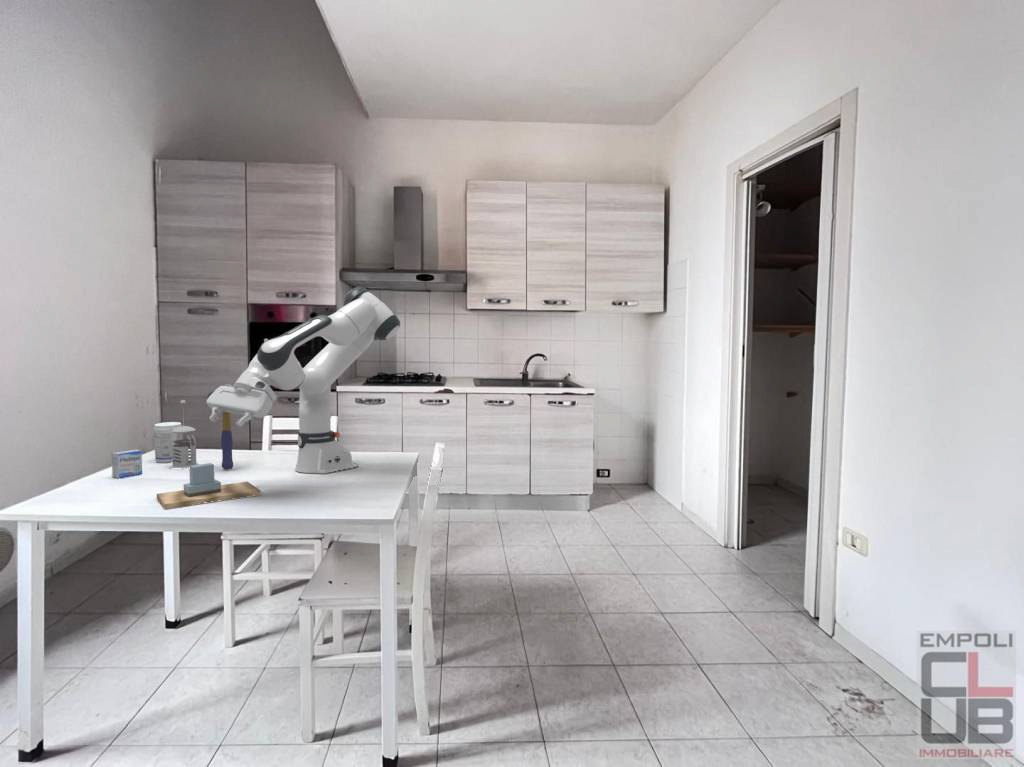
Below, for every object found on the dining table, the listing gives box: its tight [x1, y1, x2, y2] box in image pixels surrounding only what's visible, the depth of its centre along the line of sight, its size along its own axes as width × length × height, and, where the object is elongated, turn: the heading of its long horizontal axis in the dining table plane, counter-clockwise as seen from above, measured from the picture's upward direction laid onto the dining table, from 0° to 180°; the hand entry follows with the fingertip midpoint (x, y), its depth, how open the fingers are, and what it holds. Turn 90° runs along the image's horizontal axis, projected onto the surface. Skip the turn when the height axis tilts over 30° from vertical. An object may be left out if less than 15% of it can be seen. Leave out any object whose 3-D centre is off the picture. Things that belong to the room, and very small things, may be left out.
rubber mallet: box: [206, 390, 234, 471], centre depth 218 cm, size 12×8×30 cm, turn 169°
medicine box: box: [111, 449, 143, 479], centre depth 208 cm, size 8×4×9 cm, turn 148°
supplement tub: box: [153, 421, 184, 464], centre depth 233 cm, size 10×10×15 cm
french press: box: [170, 399, 200, 469], centre depth 223 cm, size 10×12×25 cm
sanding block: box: [183, 462, 222, 497], centre depth 181 cm, size 9×5×8 cm, turn 134°
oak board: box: [156, 481, 262, 510], centre depth 183 cm, size 26×14×2 cm, turn 129°
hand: (225, 422), depth 179 cm, fingers open, 8 cm apart
